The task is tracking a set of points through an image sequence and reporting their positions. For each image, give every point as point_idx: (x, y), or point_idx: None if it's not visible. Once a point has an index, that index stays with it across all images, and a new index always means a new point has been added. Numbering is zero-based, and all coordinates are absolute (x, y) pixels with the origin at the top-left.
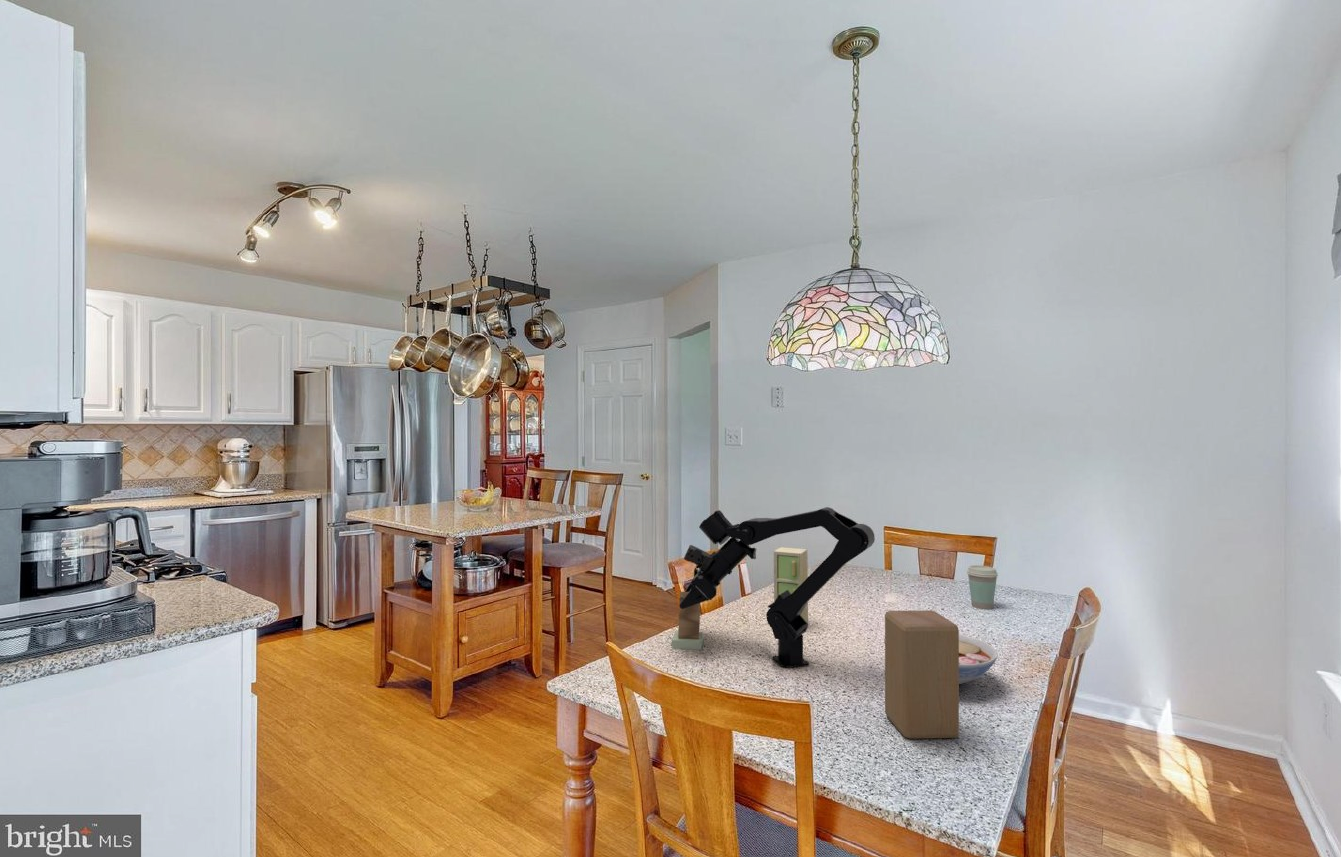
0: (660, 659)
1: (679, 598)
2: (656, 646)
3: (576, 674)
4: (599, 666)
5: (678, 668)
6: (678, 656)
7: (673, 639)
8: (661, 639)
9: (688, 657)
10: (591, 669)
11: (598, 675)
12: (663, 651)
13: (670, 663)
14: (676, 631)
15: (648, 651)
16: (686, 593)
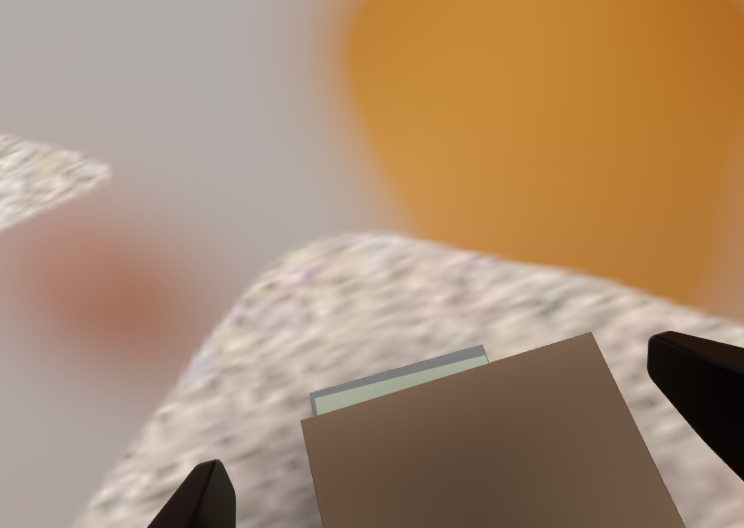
0: (236, 376)
1: (301, 422)
2: (400, 292)
3: (21, 143)
4: (107, 177)
5: (132, 517)
6: (301, 452)
7: (333, 400)
8: (504, 278)
9: (303, 515)
10: (74, 165)
11: (15, 211)
12: (346, 349)
13: (194, 446)
14: (482, 364)
15: (322, 283)
16: (550, 452)
